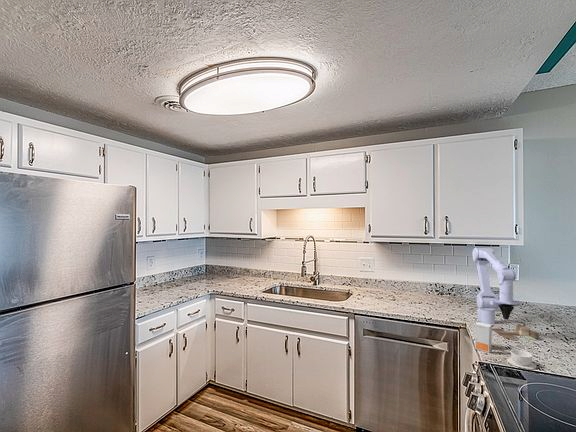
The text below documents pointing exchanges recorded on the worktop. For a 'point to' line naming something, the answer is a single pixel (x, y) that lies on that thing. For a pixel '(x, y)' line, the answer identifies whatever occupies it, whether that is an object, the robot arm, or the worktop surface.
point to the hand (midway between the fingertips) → (505, 318)
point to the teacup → (521, 359)
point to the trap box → (511, 335)
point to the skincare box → (483, 337)
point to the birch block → (522, 330)
